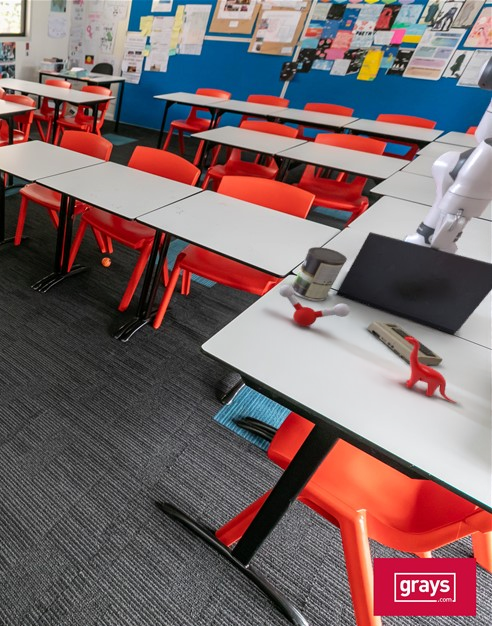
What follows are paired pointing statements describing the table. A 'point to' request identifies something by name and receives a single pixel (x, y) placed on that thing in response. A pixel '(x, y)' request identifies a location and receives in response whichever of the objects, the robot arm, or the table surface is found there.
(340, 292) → the laptop
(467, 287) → the laptop screen
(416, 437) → the table surface
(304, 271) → the coffee can
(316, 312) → the molecular model
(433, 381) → the dinosaur
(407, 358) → the computer
